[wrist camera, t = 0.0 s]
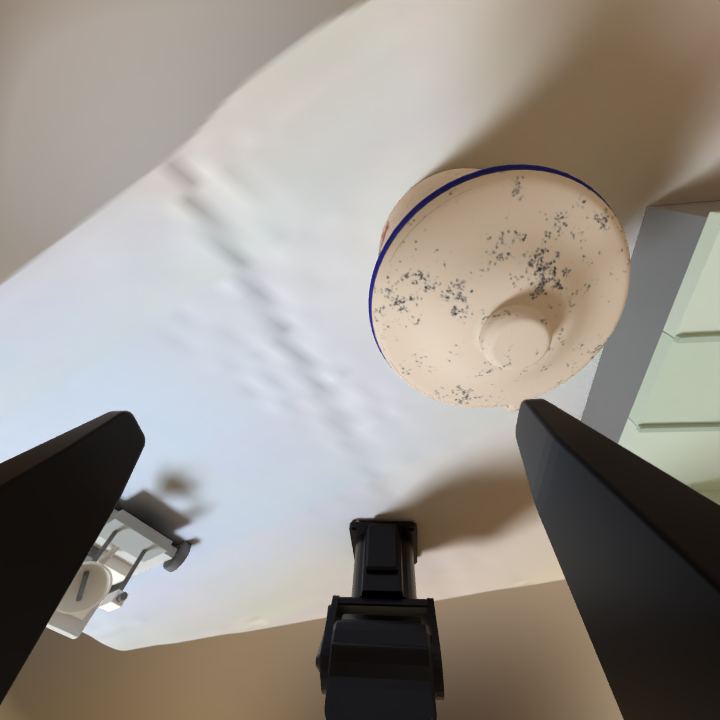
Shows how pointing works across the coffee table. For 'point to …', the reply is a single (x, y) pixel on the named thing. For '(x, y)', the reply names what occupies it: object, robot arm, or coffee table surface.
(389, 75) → the coffee table surface
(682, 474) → the lid
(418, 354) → the teacup with lid
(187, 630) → the coffee table surface
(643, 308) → the tub
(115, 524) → the toy rover
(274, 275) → the coffee table surface
